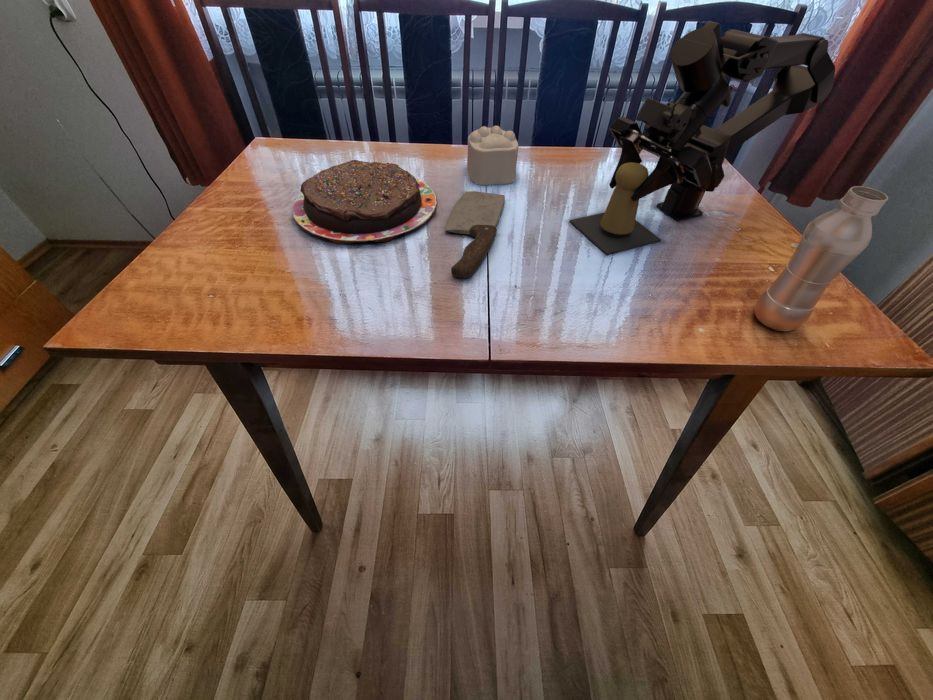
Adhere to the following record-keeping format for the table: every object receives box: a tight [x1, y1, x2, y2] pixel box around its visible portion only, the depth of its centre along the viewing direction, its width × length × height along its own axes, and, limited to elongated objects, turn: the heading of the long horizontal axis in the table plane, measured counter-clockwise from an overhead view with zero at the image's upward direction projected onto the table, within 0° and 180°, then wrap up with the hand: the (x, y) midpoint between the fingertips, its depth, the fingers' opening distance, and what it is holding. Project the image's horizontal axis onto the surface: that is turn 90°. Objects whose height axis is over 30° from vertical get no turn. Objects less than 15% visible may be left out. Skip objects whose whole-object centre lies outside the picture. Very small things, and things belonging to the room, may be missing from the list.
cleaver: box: [444, 190, 506, 279], centre depth 77 cm, size 29×10×2 cm, turn 169°
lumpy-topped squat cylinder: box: [466, 125, 519, 186], centre depth 92 cm, size 10×13×9 cm
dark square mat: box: [569, 211, 662, 256], centre depth 79 cm, size 12×12×1 cm
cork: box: [600, 162, 650, 234], centre depth 73 cm, size 6×6×11 cm
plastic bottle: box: [753, 185, 889, 332], centre depth 55 cm, size 6×7×20 cm
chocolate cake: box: [291, 159, 438, 245], centre depth 81 cm, size 28×28×7 cm
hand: (621, 193), depth 72 cm, fingers closed on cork, 5 cm apart
